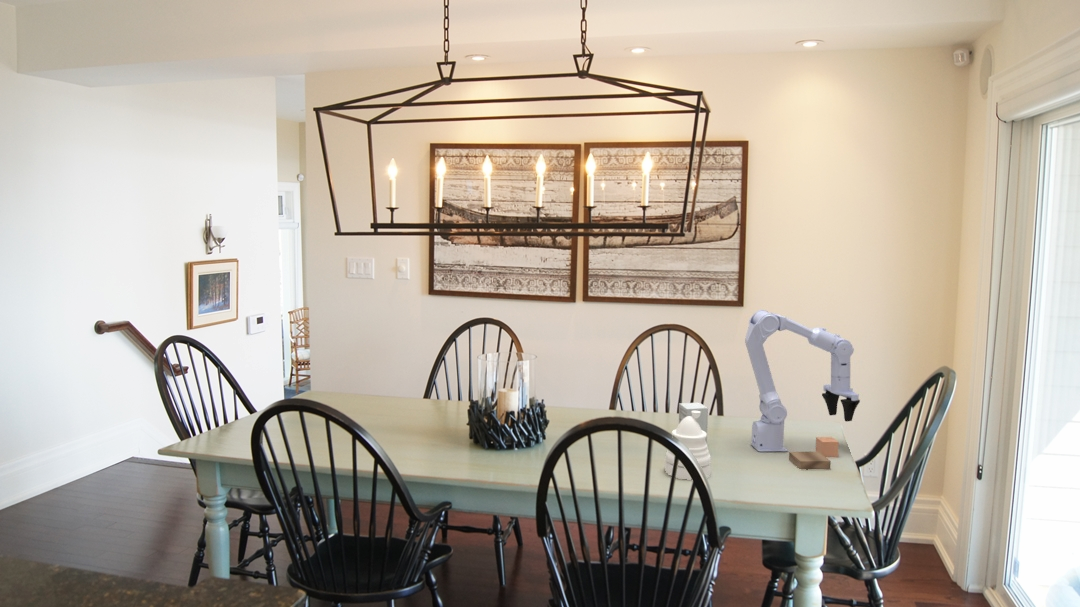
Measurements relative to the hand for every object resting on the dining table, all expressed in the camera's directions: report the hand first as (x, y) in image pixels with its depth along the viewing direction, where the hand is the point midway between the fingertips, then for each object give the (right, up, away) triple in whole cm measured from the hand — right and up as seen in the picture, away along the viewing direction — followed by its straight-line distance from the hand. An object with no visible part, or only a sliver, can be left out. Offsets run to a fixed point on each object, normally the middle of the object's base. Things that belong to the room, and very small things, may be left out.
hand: (840, 417), depth 242 cm
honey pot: (-53, -13, -21) cm, 58 cm away
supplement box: (-46, -9, +7) cm, 47 cm away
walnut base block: (-15, -12, -14) cm, 24 cm away
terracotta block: (-6, -11, -5) cm, 13 cm away
